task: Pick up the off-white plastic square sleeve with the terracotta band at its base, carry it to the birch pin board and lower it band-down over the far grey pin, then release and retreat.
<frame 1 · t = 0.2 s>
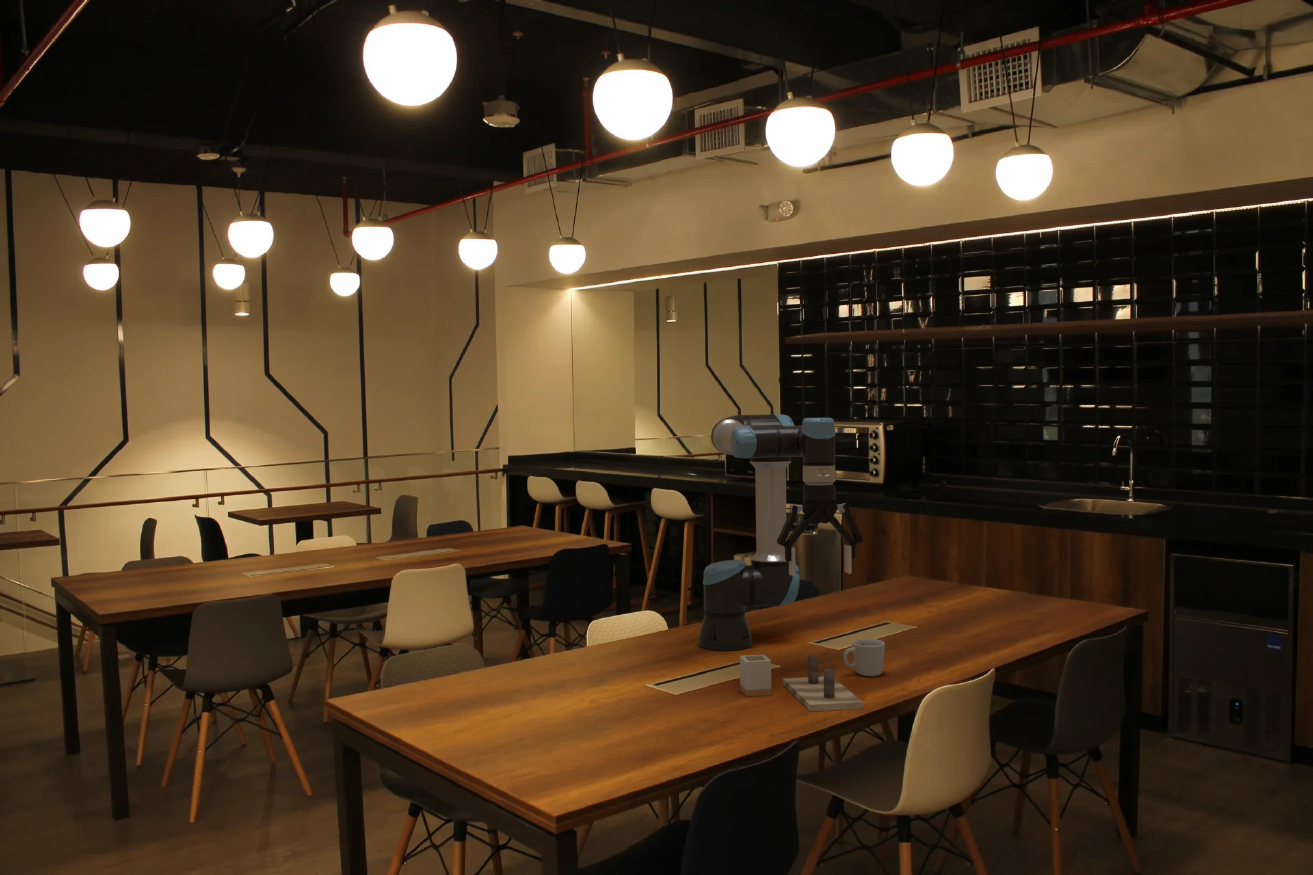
hand: (820, 574, 234), 27 cm above the table, fingers open, 13 cm apart
pin board: (821, 695, 230), on the table
cup: (863, 675, 248), on the table
sleeve: (755, 692, 234), on the table
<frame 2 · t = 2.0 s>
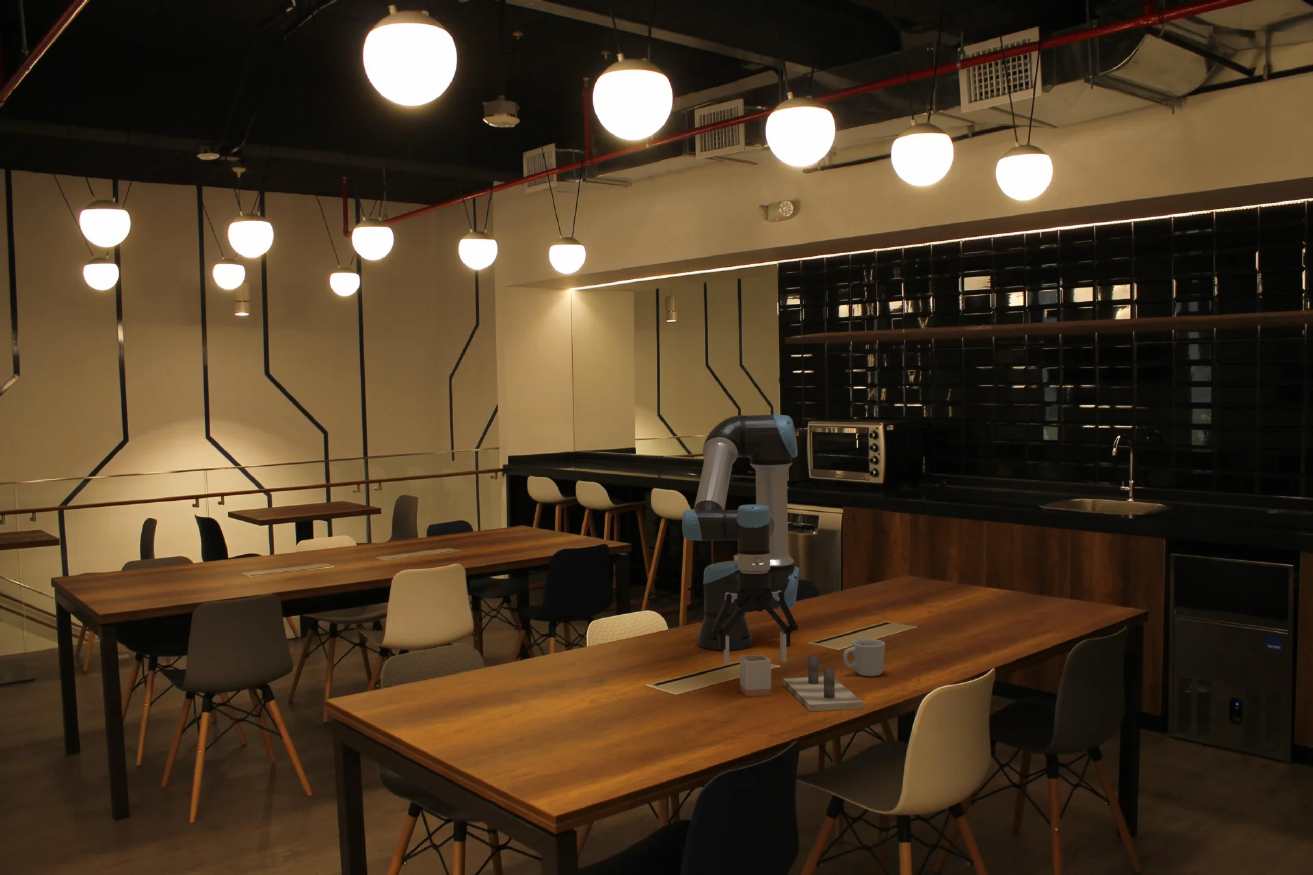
hand: (755, 662, 233), 7 cm above the table, fingers open, 13 cm apart
nothing on the table moved.
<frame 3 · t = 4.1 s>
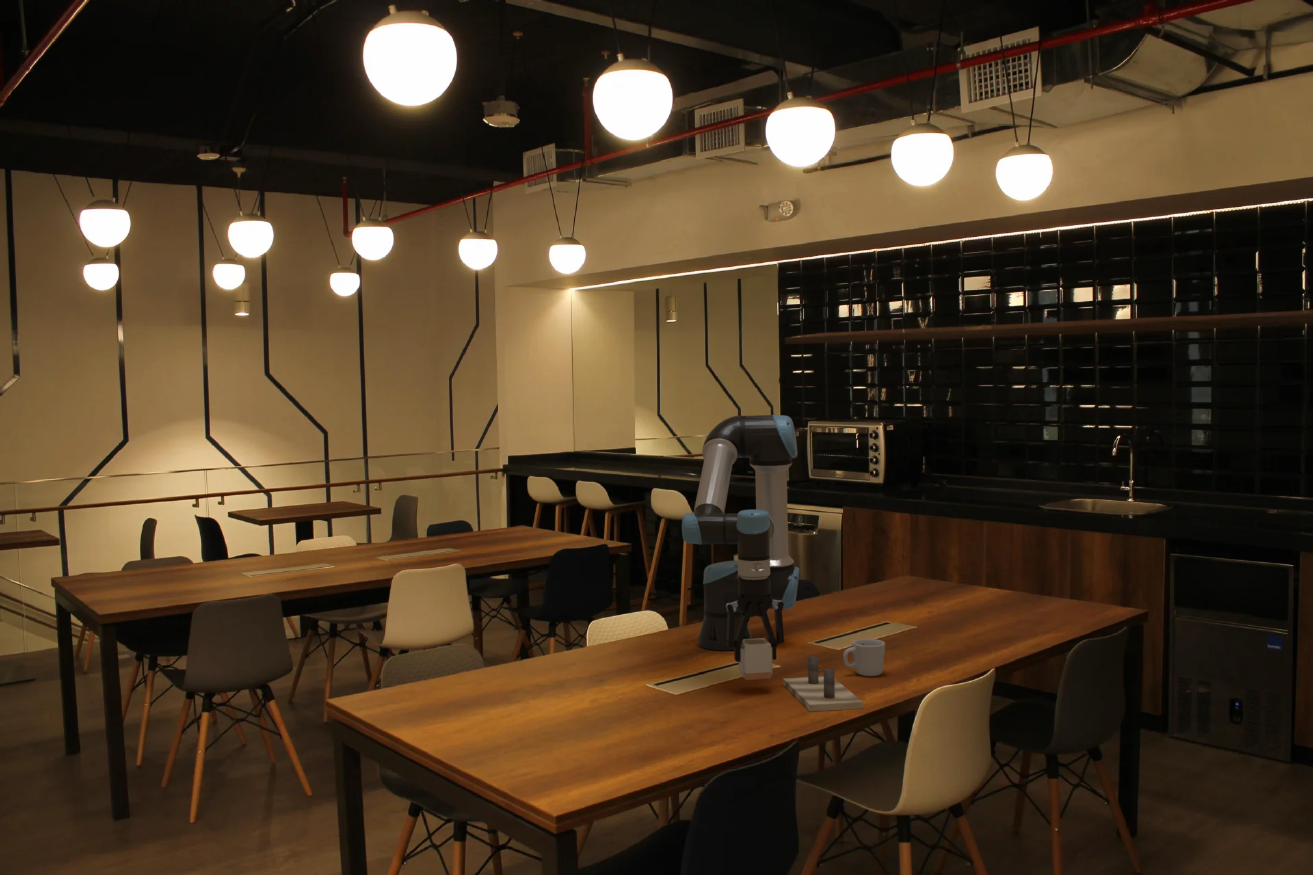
hand: (755, 673, 234), 4 cm above the table, fingers closed on sleeve, 6 cm apart
sleeve: (755, 675, 234), point 4 cm above the table, touching gripper
everything else where it was.
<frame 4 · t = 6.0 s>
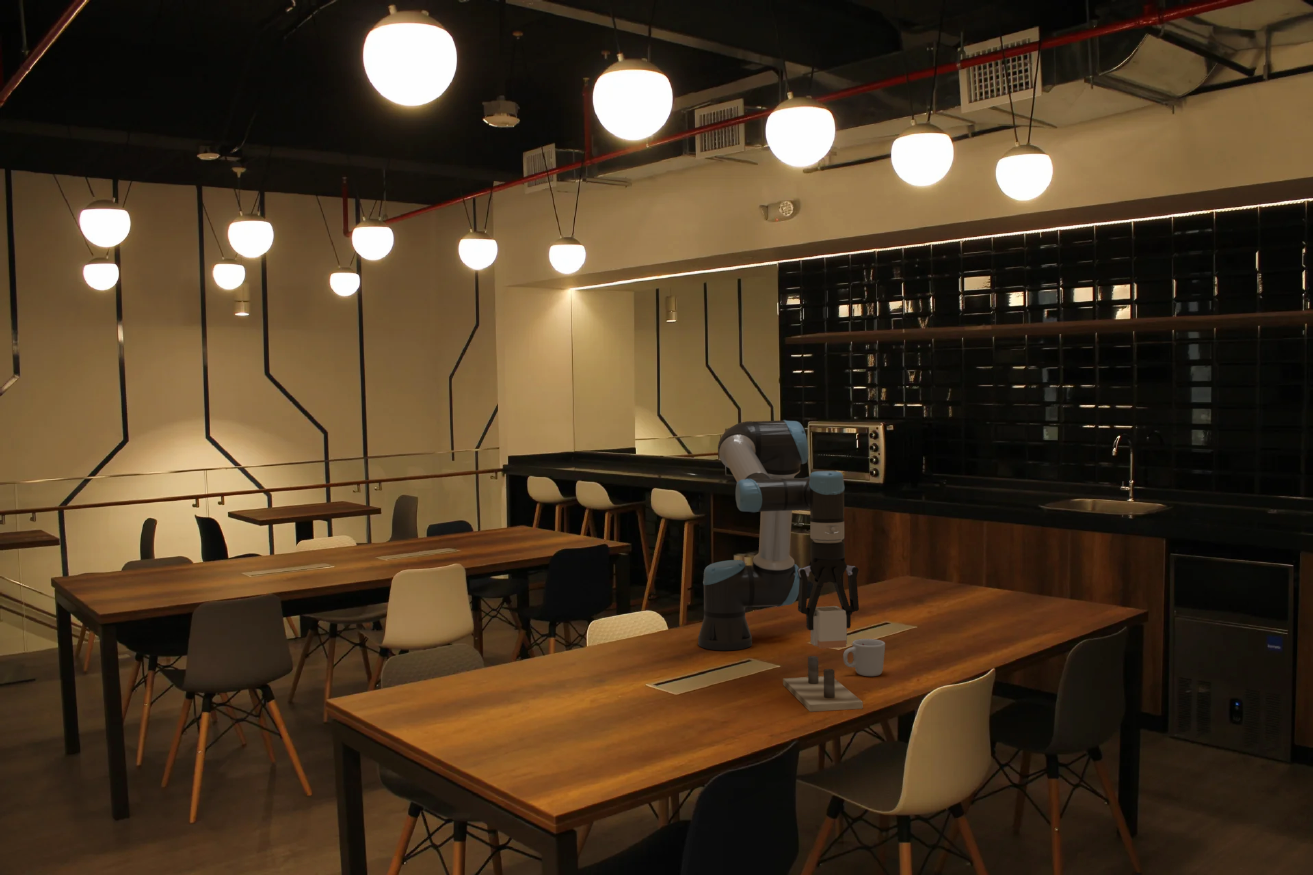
hand: (828, 643, 223), 14 cm above the table, fingers closed on sleeve, 6 cm apart
sleeve: (828, 644, 223), point 13 cm above the table, touching gripper
everything else where it was.
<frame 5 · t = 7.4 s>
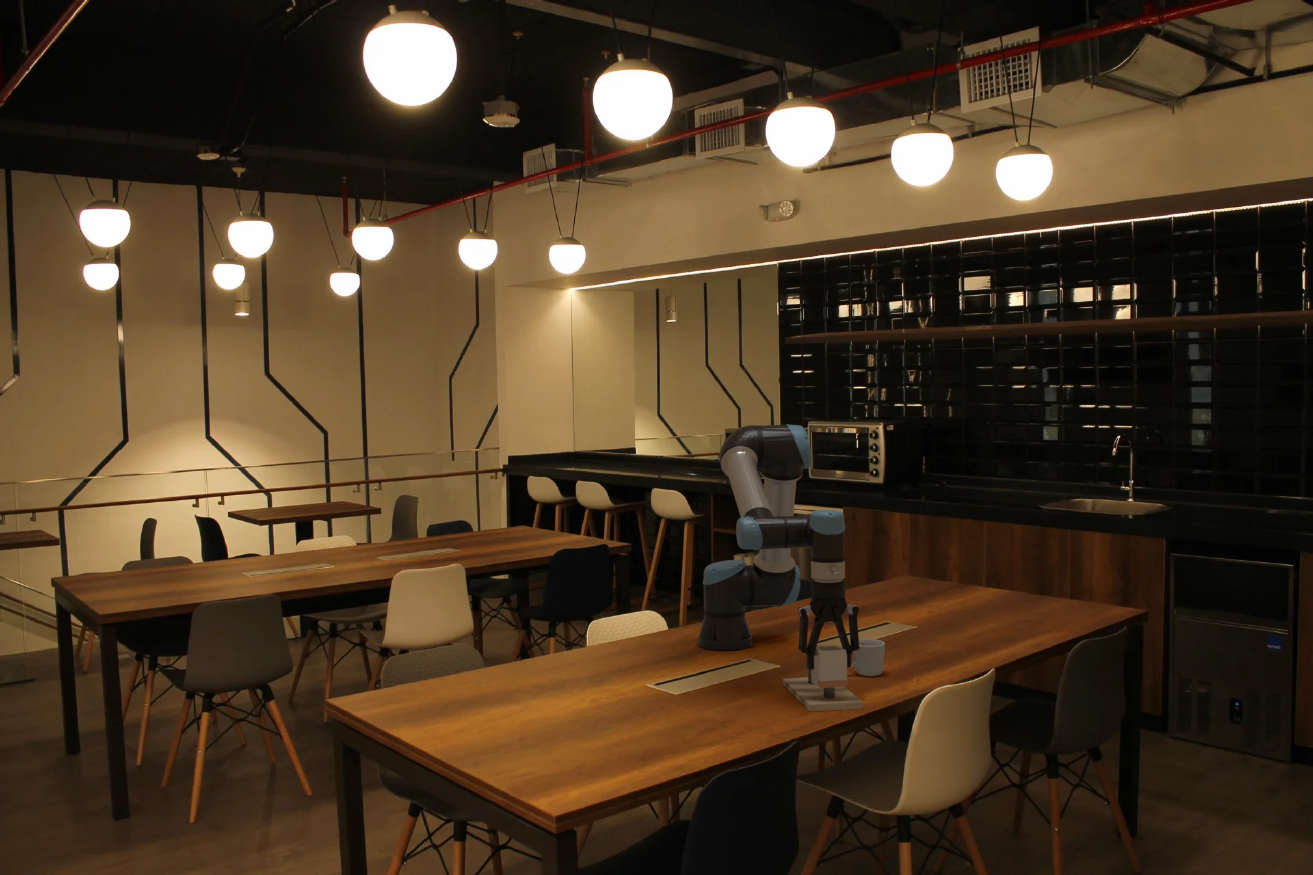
hand: (829, 682, 224), 5 cm above the table, fingers closed on sleeve, 6 cm apart
sleeve: (829, 683, 224), point 4 cm above the table, touching gripper
everything else where it was.
when the fingers open (2 cm above the table, at t = 8.2 s): sleeve stays where it is, resting on pin board.
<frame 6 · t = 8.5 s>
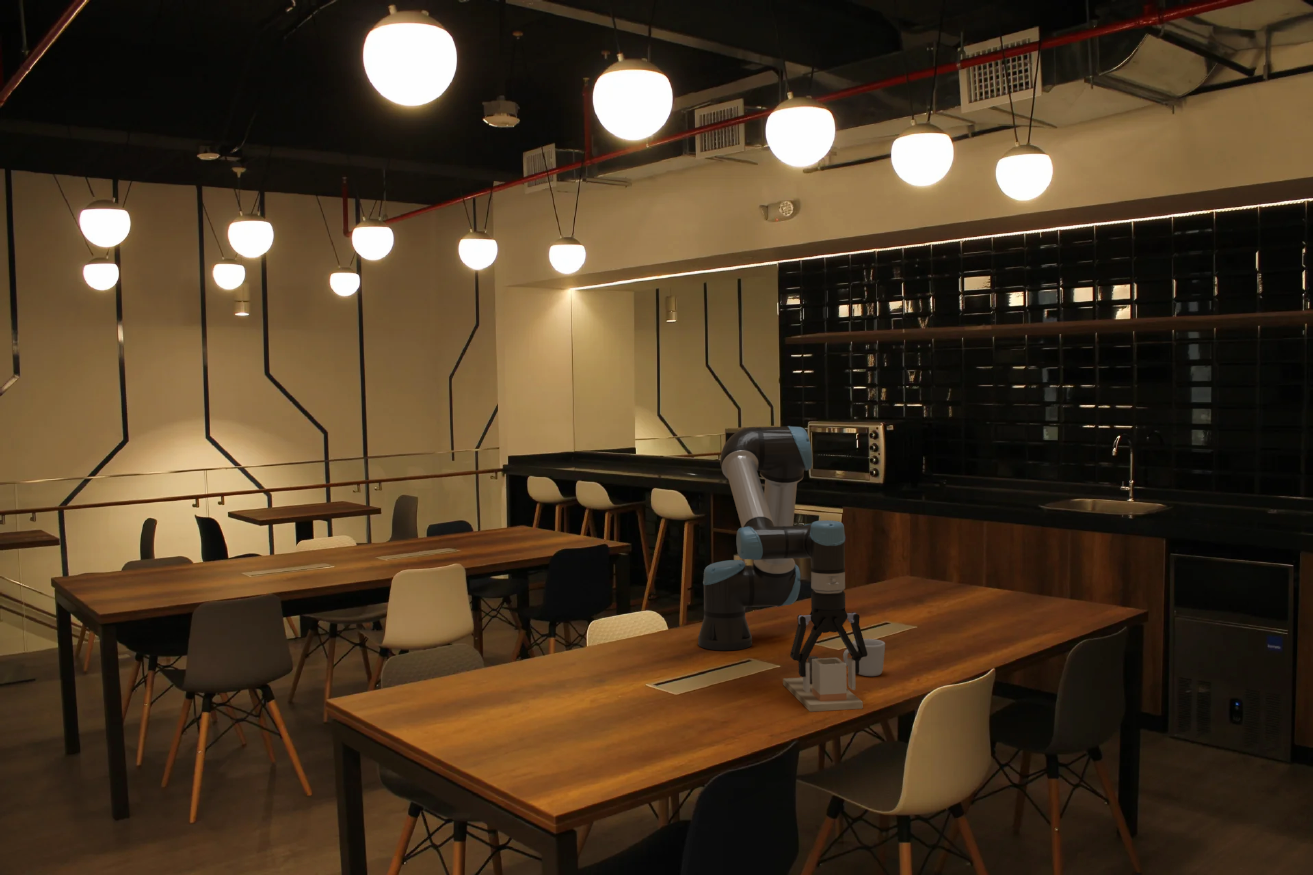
hand: (829, 689, 224), 3 cm above the table, fingers open, 10 cm apart
sleeve: (829, 696, 224), point 1 cm above the table, touching pin board
everything else where it was.
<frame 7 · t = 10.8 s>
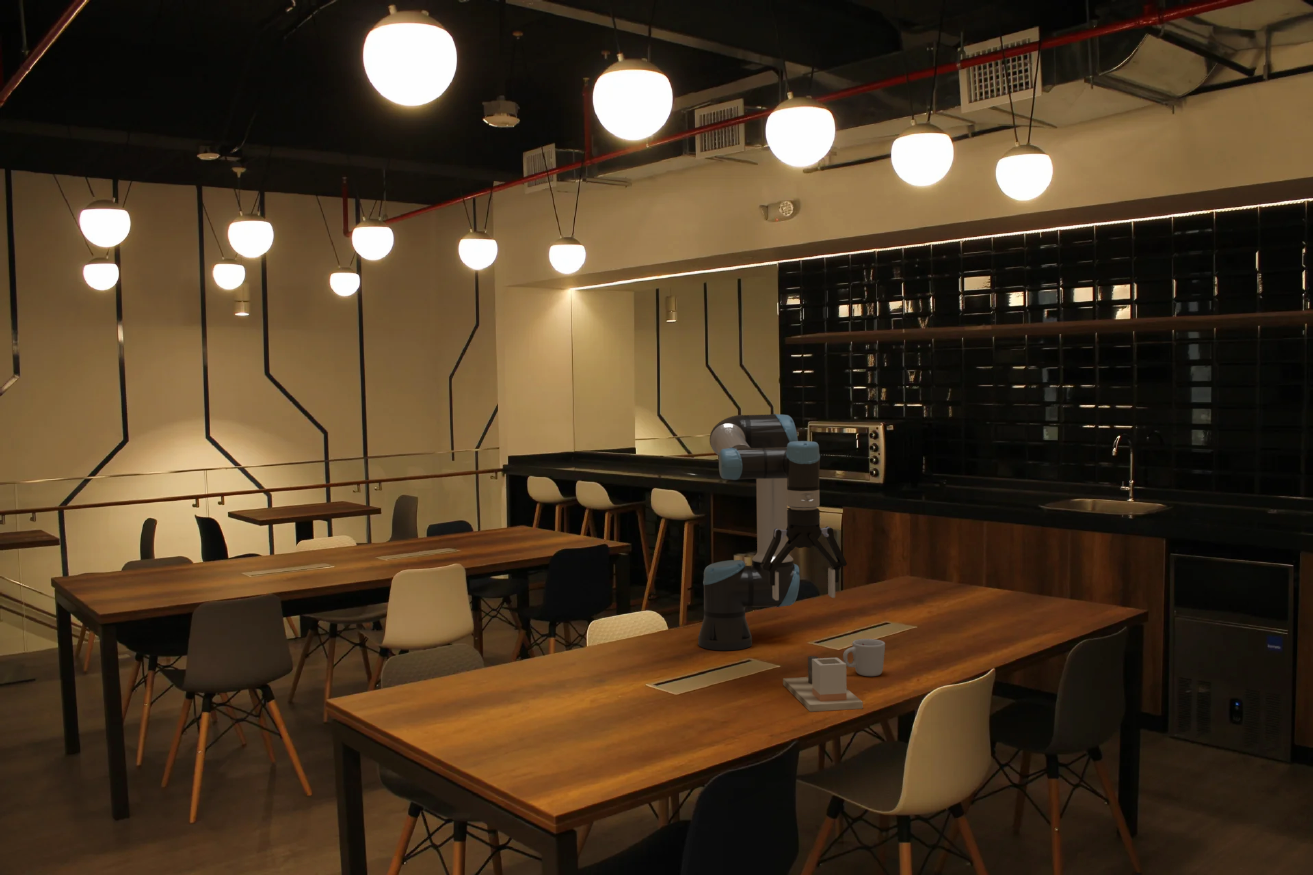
hand: (803, 597, 234), 22 cm above the table, fingers open, 13 cm apart
nothing on the table moved.
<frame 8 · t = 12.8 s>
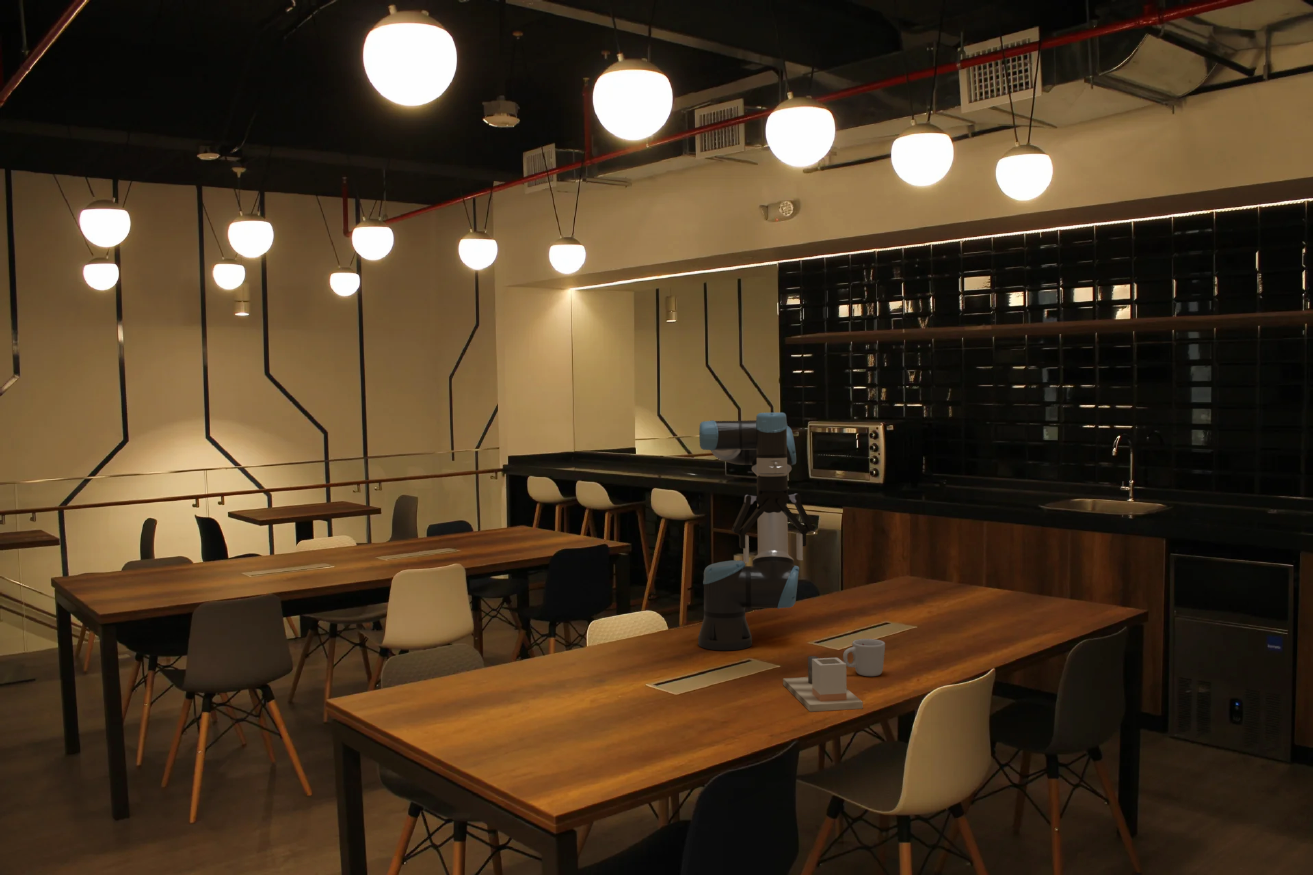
hand: (773, 560, 247), 29 cm above the table, fingers open, 13 cm apart
nothing on the table moved.
at the end: sleeve 0.0 cm from the target spot on the pin board, point 1.5 cm above the pin board's base; sleeve tilted 0°; the gripper is holding nothing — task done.
